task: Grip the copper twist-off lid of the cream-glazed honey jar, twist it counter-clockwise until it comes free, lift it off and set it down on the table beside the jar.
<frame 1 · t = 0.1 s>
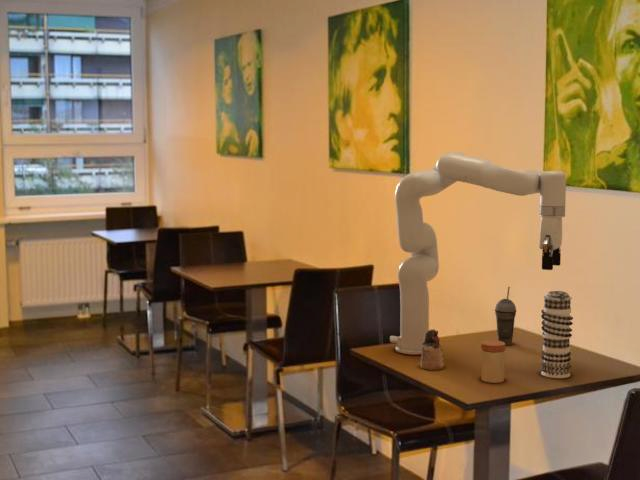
hand: (551, 267, 273), 31 cm above the table, tool pointing down, fingers open, 9 cm apart
beverage cup: (505, 344, 307), on the table
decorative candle: (555, 375, 268), on the table
jar lid: (493, 344, 262), point 11 cm above the table, screwed on, not yet turned
figurine: (432, 367, 277), on the table
honey jar: (492, 379, 263), on the table
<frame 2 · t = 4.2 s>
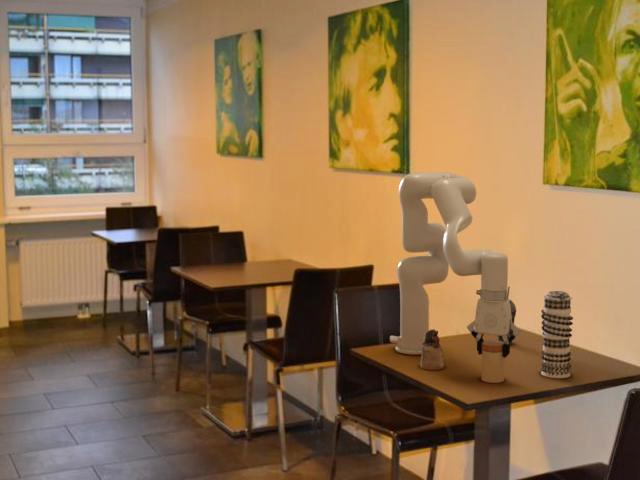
hand: (493, 354, 262), 8 cm above the table, tool pointing down, fingers closed on jar lid, 6 cm apart
jar lid: (493, 344, 262), point 11 cm above the table, screwed on, not yet turned, touching gripper
everything else where it was.
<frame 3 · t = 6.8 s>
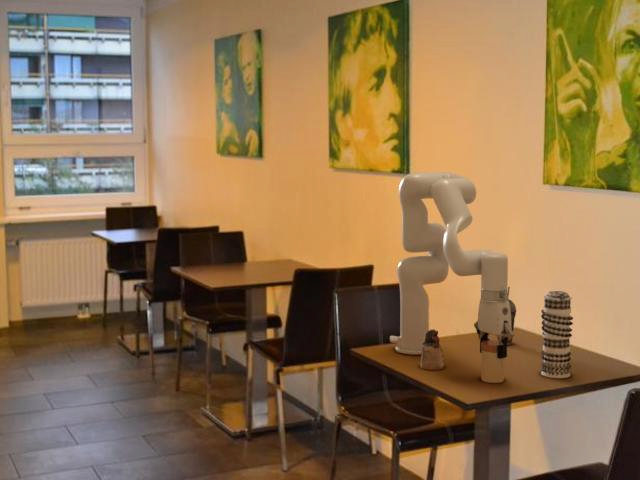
hand: (493, 354, 262), 8 cm above the table, tool pointing down, fingers closed on jar lid, 6 cm apart
jar lid: (493, 344, 262), point 11 cm above the table, off its thread, touching gripper
honey jar: (492, 379, 263), on the table, touching gripper
everything else where it was.
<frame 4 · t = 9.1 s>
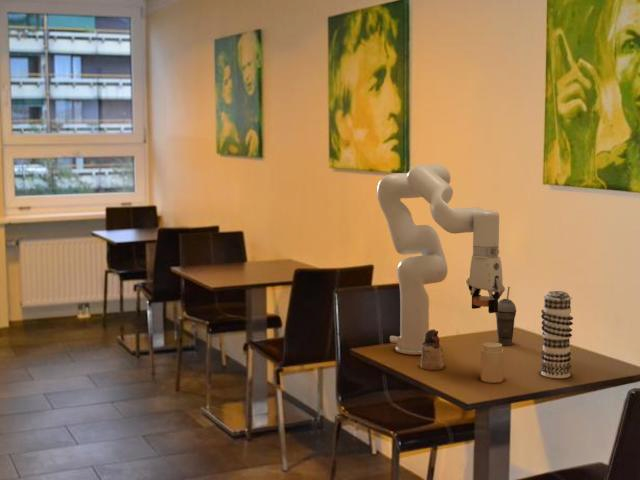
hand: (484, 309, 268), 19 cm above the table, tool pointing down, fingers closed on jar lid, 6 cm apart
jar lid: (484, 299, 268), point 23 cm above the table, off its thread, touching gripper
honey jar: (491, 379, 263), on the table
everything else where it was.
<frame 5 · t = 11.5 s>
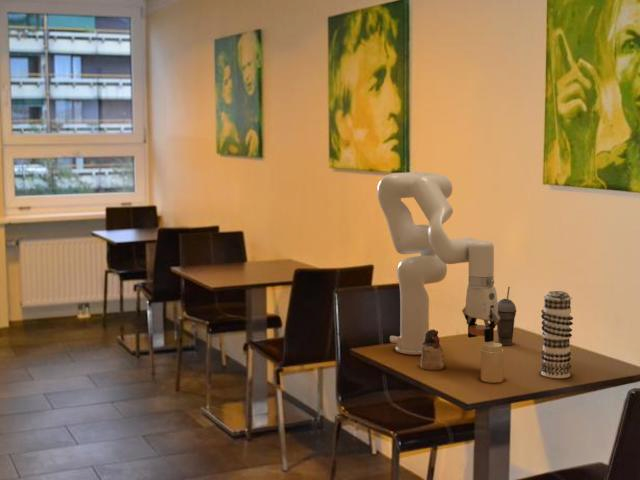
hand: (480, 338, 273), 10 cm above the table, tool pointing down, fingers closed on jar lid, 6 cm apart
jar lid: (480, 328, 272), point 13 cm above the table, off its thread, touching gripper
everything else where it was.
when the fingers open (0 cm above the table, at t = 13.8 s): jar lid drops 2 cm, point 2 cm above the table.
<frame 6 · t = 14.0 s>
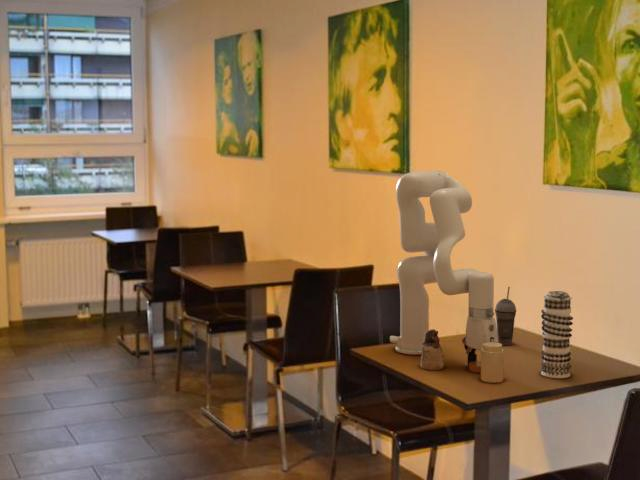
hand: (480, 369, 274), 0 cm above the table, tool pointing down, fingers open, 7 cm apart
jar lid: (480, 365, 274), point 2 cm above the table, off its thread, touching gripper
everything else where it was.
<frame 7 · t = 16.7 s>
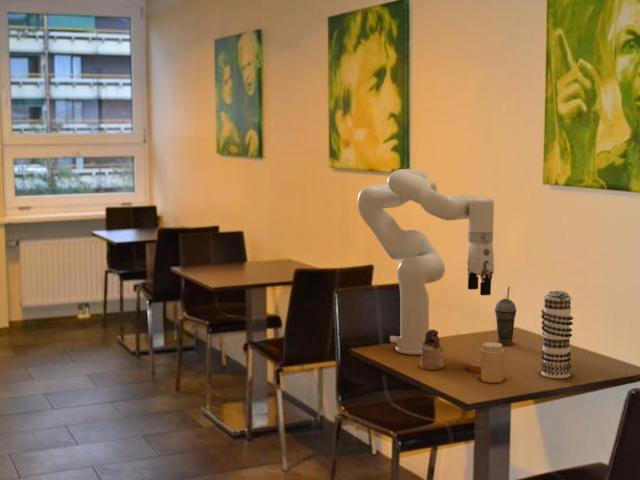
hand: (479, 292, 277), 23 cm above the table, tool pointing down, fingers open, 9 cm apart
jar lid: (480, 365, 274), point 1 cm above the table, off its thread
everything else where it was.
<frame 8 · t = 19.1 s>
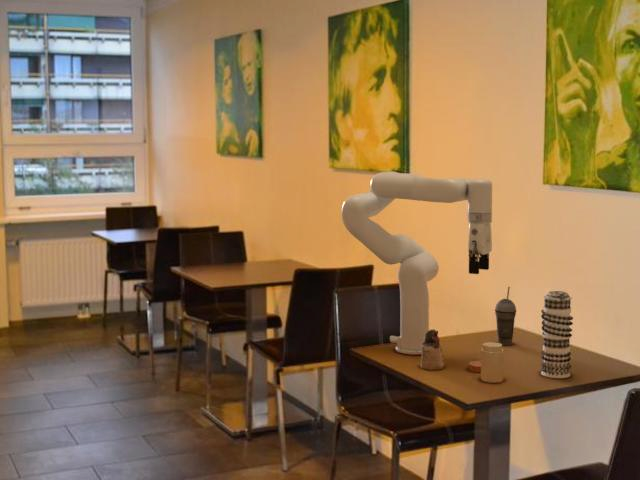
hand: (478, 271, 284), 28 cm above the table, tool pointing down, fingers open, 9 cm apart
nothing on the table moved.
at the end: jar lid came off its thread; jar lid point 1.5 cm above the table; the gripper is holding nothing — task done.
